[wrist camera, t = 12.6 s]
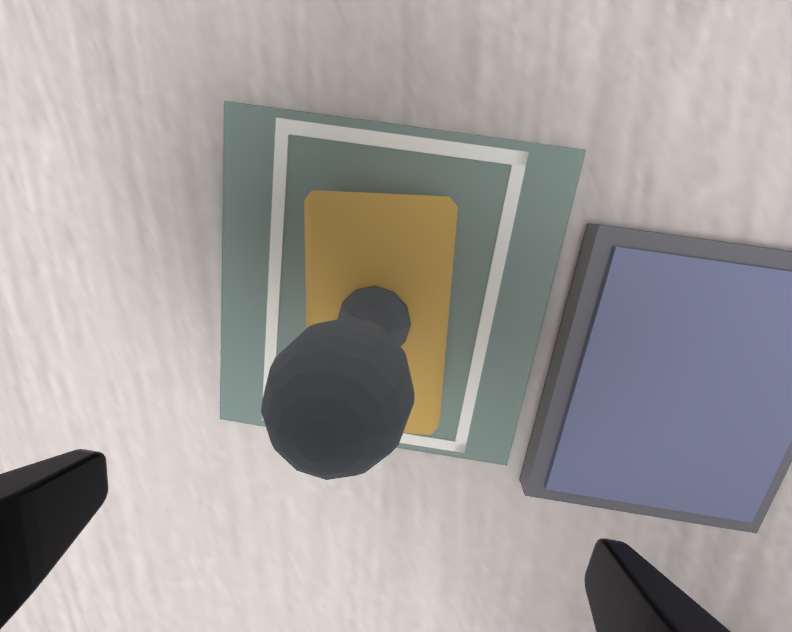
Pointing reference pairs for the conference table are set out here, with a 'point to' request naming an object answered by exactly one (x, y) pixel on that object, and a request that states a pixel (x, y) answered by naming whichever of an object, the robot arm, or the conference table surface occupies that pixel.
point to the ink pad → (669, 381)
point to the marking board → (472, 265)
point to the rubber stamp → (364, 332)
